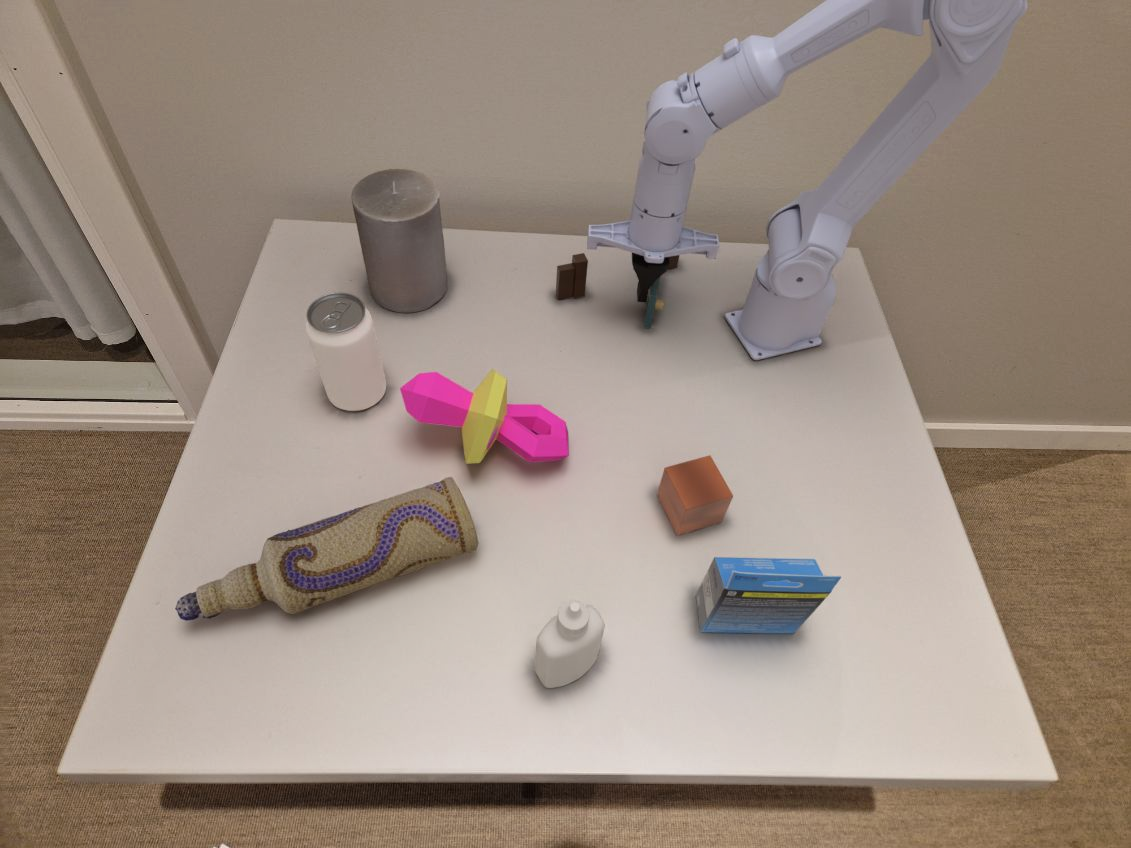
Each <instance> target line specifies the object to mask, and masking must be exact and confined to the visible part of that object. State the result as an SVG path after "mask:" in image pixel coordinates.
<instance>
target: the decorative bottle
mask: <svg viewBox="0 0 1131 848" xmlns="http://www.w3.org/2000/svg"><path fill="white" fill-rule="evenodd" d="M478 547H479V539H478V534H477V530H476V527H475V524H474V520H473V517H472V515H471V512H470V509H469V508H468V505H467V502H466V499H465V498H464V496H463V494H462V492H461V490H460V488H459V486H458V485H457V483H456V481H455V479H454V478H453V476H448V477H445V478H443V479H442V480H440V481H438V482H434V483H430V484H427V485H426V486H425V485H424V486H423V487H420V488H415V489H412V490H409V491H406V492H403V493H399V494H397V495H394V496H390V497H387V498H384V499H381V500H379V501H377V502H372V503H370V504H366V505H363V506H360V507H356V508H354V509H350V510H347V511H345V512H341V513H339V514H336V515H333V516H329V517H326V518H322V519H320V520H317V521H315V522H314V521H313V522H311V523H308V524H305V525H302V526H299V527H297V528H292V529H288V530H286V531H282V532H279V533H276V534H274V535H272V536H270V537H267V539H266V540H265V542H264V544H263V547H262V551H261V556H260V558H259V560H258V561H256V562H254V563H247V564H245V565H241V566H238V567H236V568H234V569H232V570H231V571H229V572H228V573H227V574H226V575H224V576H223V577H222V578H219V579H216V580H212V581H210V582H207V583H205V584H202V585H200V586H198V587H197V588H196V591H193V592H189V593H186V594H185V595H183V596H181V597H180V598H179V599H177V602H176V605H175V608H174V609H175V610H176V613H177V616H178V617H179V619H180V620H183V621H184V622H188V621H193V620H196V619H199V617H200V615H203V616H202V619H212V618H216V617H217V616H219V615H221V614H223V613H225V612H227V611H230V610H243V609H251V608H254V607H257V606H259V605H260V606H261V605H263V604H265V603H266V602H268V601H273V602H274V603H275V604H276V605H277V606H278V607H279V608H280V609H282V611H284V612H285V613H287V614H296V613H299V612H302V611H305V610H308V609H310V608H313V607H315V606H317V605H320V604H323V603H326V602H330V601H332V600H336V599H338V598H340V597H345V596H346V595H350V594H352V593H354V592H357V591H360V590H363V589H365V588H369V587H371V586H374V585H376V584H380V583H383V582H385V581H388V580H391V579H393V578H398V577H400V576H403V575H407V574H409V573H413V572H416V571H418V570H421V569H422V568H427V567H428V566H431V565H435V564H437V563H438V564H439V563H441V562H442V561H447V560H449V559H450V558H453V557H456V556H460V555H462V554H471V553H472V552H475V551H477V549H478Z"/></svg>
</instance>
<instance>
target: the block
mask: <svg viewBox="0 0 1131 848" xmlns="http://www.w3.org/2000/svg"><path fill="white" fill-rule="evenodd" d="M656 496H657V498H658V500H659V502H660V504H661V506H662V508H663V510H664V512H665V514H666V516H667V518H668V520H669V522H670V524H671V526H672V528H673V530H674V533H675V535H676V536H680V535H683V534H687V533H690V532H694V531H698V530H701V529H704V528H707V527H710V526H715V525H718V524H720V523H721V524H722V523H723V520H724V518H725V516H726V514H727V512H728V509H729V507H730V505H731V503H732V500H733V498H734V495H733V492H732V490H731V489H730V487H729V486H728V484H727V482H726V481H725V478H724V476H723V475H722V473H721V471H720V470H719V468H718V466H717V464H716V462H715V461H714V459H713V457H712V456H711V455H706V456H703V457H699V458H695V459H691V460H687V461H684V462H680V463H675V464H673V465H670V466H669V465H668V466H665V467H664V469H663V472H662V475H661V479H660V482H659V485H658V490H657V493H656Z"/></svg>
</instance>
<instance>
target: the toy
mask: <svg viewBox="0 0 1131 848" xmlns="http://www.w3.org/2000/svg"><path fill="white" fill-rule="evenodd" d="M399 390H400V394H401V397H402V400H403V404H404V407H405V411H406V413H408V414H409V415H410V416H411V417H413V419H415V420H416V421H417V422H418V423H420V424H430V425H437V426H438V425H439V426H449V427H458V428H460V429H461V437H462V445H463V447H462V448H463V453H464V461H465V462H464V463H465V464H467V465H469V464H480V463H481V462H482V461H483V459H484V458H485V456H486V455H487V454H488V452H489V450H490V449H491V448H492V446H493V445H494V443H495V442H496V440H497V441H498V442H499V443H501V444H503V445H504V446H505V447H506V448H508V449H510V450H511V451H512V452H514V453H516V455H518V456H519V457H521V458H522V459H524V460H525V461H527V462H528V463H541V462H557V461H559V460H562V459H564V458H567V457H569V456H570V447H569V446H570V445H569V444H570V443H569V430H568V426H567V423H566V420H564V419H563V418H561V417H559V416H558V415H557V414H555V413H553V412H552V411H550V410H549V409H547V408H546V407H544V406H543V405H541V404H540V403H537V404H536V403H535V404H533V403H532V404H530V403H528V404H527V403H523V404H522V403H521V404H520V403H519V404H518V403H511V404H510V403H508V379H507V378H506V377H504V375H502V374H501V373H499V372H498V371H497V370H495V369H493V368H492V369H491V370H490V371H489V372H488V374H487V375H486V376H485V377H484V379H483V380H482V381H481V382H480V383H479V385H477V387H476V389H475V390H474V391H473V392H472V391H470V390H468V389H467V388H465V387H464V386H462V385H460V384H458V383H456V382H455V381H453V380H451V379H449V378H448V377H446V376H445V375H443V374H441V373H440V372H437V371H429V372H419V373H418V374H416V375H415V376H414V377H412V378H411V379H410V380H408V381H407V382H406V383H404V384H403V385H402V386H401V387H400V388H399Z"/></svg>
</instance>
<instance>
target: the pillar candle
mask: <svg viewBox="0 0 1131 848" xmlns="http://www.w3.org/2000/svg"><path fill="white" fill-rule="evenodd" d="M350 195H351V203H352V209H353V214H354V218H355V224H356V229H357V233H358V238H359V244H360V248H361V254H362V260H363V265H364V269H365V273H366V278H367V282H368V288H369V291H370V296H371V297H372V299H373V300H374V302H375V303H376V304H377V305H379V306H380V307H382V308H384V309H385V310H389V311H392V312H397V313H404V314H405V313H417V312H422V311H424V310H427V309H430V307H432V306H433V305H434V304H436V303H438V301H440V300H441V299H442V298H444V296H445V294H446V293H447V289H448V273H447V261H446V260H447V259H446V253H445V252H446V249H445V239H444V231H443V222H442V212H441V202H440V198H441V192H440V190H439V188H438V186H437V184H436V183H435V181H434V180H433V179H432V178H430V177H429V176H428V175H426V174H424V173H423V172H420V171H416V170H413V169H406V168H388V169H383V170H378V171H375V172H372V173H370V174H368V175H366V176H365V177H363V178H362V179H359V181H358V182H357V183H356V184H355V185H354V187H353V188H352V191H351V194H350Z"/></svg>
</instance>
